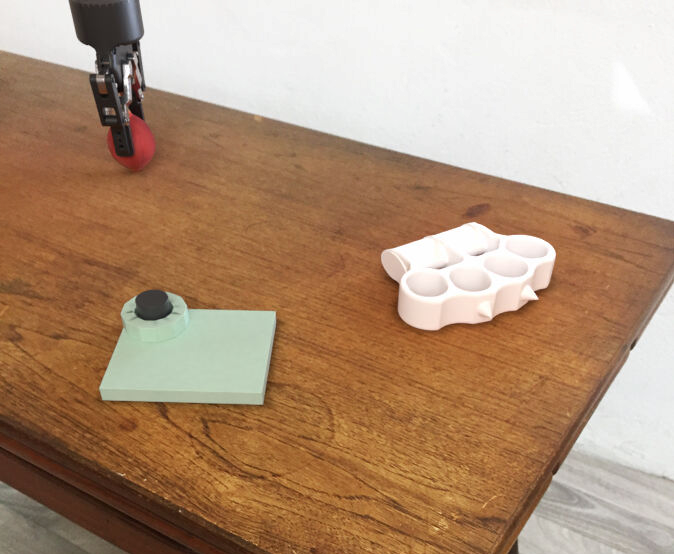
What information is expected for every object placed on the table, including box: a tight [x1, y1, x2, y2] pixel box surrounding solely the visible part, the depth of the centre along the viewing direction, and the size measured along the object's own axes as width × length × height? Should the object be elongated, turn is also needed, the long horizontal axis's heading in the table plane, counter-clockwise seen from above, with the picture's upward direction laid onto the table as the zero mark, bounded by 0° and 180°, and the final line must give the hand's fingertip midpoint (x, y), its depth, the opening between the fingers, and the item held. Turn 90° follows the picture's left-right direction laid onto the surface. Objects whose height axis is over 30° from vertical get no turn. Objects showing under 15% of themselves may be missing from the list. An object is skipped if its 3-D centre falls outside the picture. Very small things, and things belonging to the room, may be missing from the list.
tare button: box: [135, 289, 171, 321], centre depth 69 cm, size 3×3×2 cm
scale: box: [98, 291, 277, 406], centre depth 68 cm, size 14×12×3 cm
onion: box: [106, 110, 157, 174], centre depth 93 cm, size 6×6×8 cm
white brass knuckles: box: [380, 221, 557, 331], centre depth 76 cm, size 3×18×15 cm
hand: (132, 143), depth 93 cm, fingers closed on onion, 6 cm apart
